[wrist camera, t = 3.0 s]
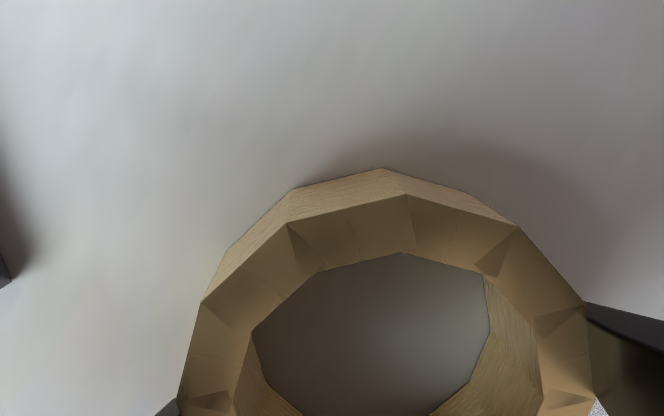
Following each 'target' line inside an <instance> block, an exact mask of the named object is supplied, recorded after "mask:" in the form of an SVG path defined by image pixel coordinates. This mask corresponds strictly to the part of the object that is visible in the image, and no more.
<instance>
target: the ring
mask: <svg viewBox="0 0 664 416" xmlns="http://www.w3.org/2000/svg"><path fill="white" fill-rule="evenodd" d="M400 252H404V253H407V254H411V255H415V256H418V257H422V258H425V259H429V260H433V261H436V262H440V263H444V264H447V265H451V266H455V267H458V268H462V269H466V270H469V271H473V272H477V273H480V274H482V277H483V284H484V290H485V296H486V302H487V308H488V315H489V321H490V327H491V331H490V334H489V336H488V338H487V341H486V343H485V346H484V348H483V350H482V353H481V355H480V357H479V360H478V362H477V365H476V367H475V369H474V372H473V374H472V376H471V379H470V381H469V383H468V384H467V385H465V386H464V387H463V388H462V389H460V390H459V391H458V392H457V393H455V394H454V395H453V396H452V397H450V398H449V399H448V400H447V401H446V402H444V403H443V404H442V405H441V406H439V407H438V408H437V409H436V410H434V411H433V412H432V413H431V414H429V415H428V416H588V414H589V412H590V410H591V408H592V406H593V404H594V402H595V400H596V397H595V394H594V393H593V384H592V374H591V364H590V354H589V344H588V334H587V324H586V321H587V319H588V316H587V306H586V304H585V303H584V301H583V300H582V299H581V298H580V297H579V296H578V295H577V293H576V292H575V291H574V290H573V289H572V288H571V286H570V285H569V284H568V283H567V282H566V281H565V280H564V278H563V277H562V276H561V275H560V274H559V273H558V271H557V270H556V269H555V268H554V267H553V266H552V264H551V263H550V262H549V261H548V260H547V259H546V258H545V256H544V255H543V254H542V253H541V252H540V251H539V249H538V248H537V247H536V246H535V245H534V244H533V243H532V241H531V240H530V239H529V238H528V237H527V236H526V234H525V233H524V232H523V231H522V230H521V229H520V228H519V226H517V225H516V224H514V223H513V222H511V221H509V220H508V219H506V218H505V217H503V216H502V215H500V214H499V213H497V212H496V211H494V210H492V209H491V208H489V207H488V206H486V205H485V204H483V203H482V202H480V201H479V200H477V199H475V198H474V197H472V196H471V195H469V194H468V193H465V192H462V191H458V190H455V189H451V188H448V187H445V186H441V185H438V184H435V183H431V182H428V181H424V180H421V179H418V178H414V177H411V176H407V175H404V174H401V173H397V172H394V171H390V170H387V169H384V168H379V169H375V170H371V171H366V172H362V173H358V174H354V175H350V176H346V177H342V178H337V179H333V180H329V181H325V182H321V183H317V184H313V185H308V186H304V187H300V188H296V189H292V190H290V191H289V192H288V193H287V194H286V195H285V196H284V197H283V198H282V199H281V200H280V201H279V202H278V203H277V204H276V205H275V206H274V207H272V208H271V209H270V210H269V211H268V212H267V213H266V214H265V215H264V216H263V217H262V218H261V219H260V220H259V221H258V222H257V223H256V224H254V225H253V226H252V227H251V228H250V229H249V230H248V231H247V232H246V233H245V234H244V235H243V236H242V237H241V238H240V239H239V240H238V241H237V242H235V243H234V244H233V245H232V246H231V247H230V248H229V249H228V250H227V251H226V253H225V255H224V257H223V259H222V261H221V263H220V265H219V267H218V269H217V271H216V273H215V275H214V277H213V279H212V281H211V283H210V285H209V287H208V289H207V291H206V293H205V295H204V297H203V299H202V301H201V303H200V307H199V311H198V315H197V319H196V323H195V327H194V331H193V335H192V339H191V343H190V346H189V350H188V354H187V358H186V362H185V366H184V370H183V374H182V378H181V382H180V386H179V390H178V394H177V398H176V402H175V403H176V405H177V408H178V410H179V413H180V415H181V416H304V415H303V414H301V413H300V412H299V411H298V410H297V409H296V408H294V407H293V406H292V405H291V404H290V403H289V402H288V401H286V400H285V399H284V398H283V397H282V396H281V395H279V394H278V393H277V392H276V391H275V390H274V389H272V388H271V387H270V386H269V385H268V384H267V383H266V380H265V377H264V374H263V371H262V368H261V364H260V361H259V358H258V355H257V352H256V349H255V345H254V342H253V339H252V336H251V334H252V330H253V329H254V328H255V327H256V326H257V325H258V324H259V323H260V322H261V321H263V320H264V319H265V318H266V317H267V316H268V315H269V314H270V313H271V312H272V311H274V310H275V309H276V308H277V307H278V306H279V305H280V304H281V303H282V302H284V301H285V300H286V299H287V298H288V297H289V296H290V295H291V294H292V293H293V292H295V291H296V290H297V289H298V288H299V287H300V286H301V285H302V284H303V283H305V282H306V281H307V280H308V279H309V278H310V277H311V276H312V275H313V274H315V273H316V272H320V271H325V270H329V269H333V268H337V267H341V266H346V265H350V264H354V263H358V262H362V261H367V260H371V259H375V258H379V257H383V256H387V255H392V254H396V253H400Z"/></svg>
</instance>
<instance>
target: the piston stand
mask: <svg viewBox="0 0 664 416" xmlns="http://www.w3.org/2000/svg"><path fill="white" fill-rule="evenodd" d="M11 282H12V279H11V277H10V275H9V273H8V271H7V268H6V266H5V264H4V262H3V259H2V257H1V255H0V289H1V288H3V287H4V286H6V285H7V284H9V283H11Z"/></svg>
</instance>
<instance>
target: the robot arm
mask: <svg viewBox="0 0 664 416" xmlns="http://www.w3.org/2000/svg"><path fill="white" fill-rule="evenodd" d="M584 303H585V304H586V306H587V316H588V319H587V321H586V324H587V334H588V344H589V354H590V364H591V374H592V384H593V393H594V394H595V396H596V397H597V399H598V400H599V402H600V403H601V405H602V406H603V408H604V409H605V411H606V412H607V414H608V415H609V416H664V321H662V320H658V319H654V318H650V317H646V316H642V315H638V314H634V313H630V312H626V311H622V310H618V309H613V308H609V307H605V306H601V305H597V304H593V303H589V302H584ZM175 402H176V398H174V399H173V400H172V401H170V402H169V403H168V404H167V405H166V406H165V407H164V408H163V409H162V410H160V411H159V412H158V413H157V414H156V415H155V416H181V415H180V413H179V410H178V408H177V405H176V403H175Z"/></svg>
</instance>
